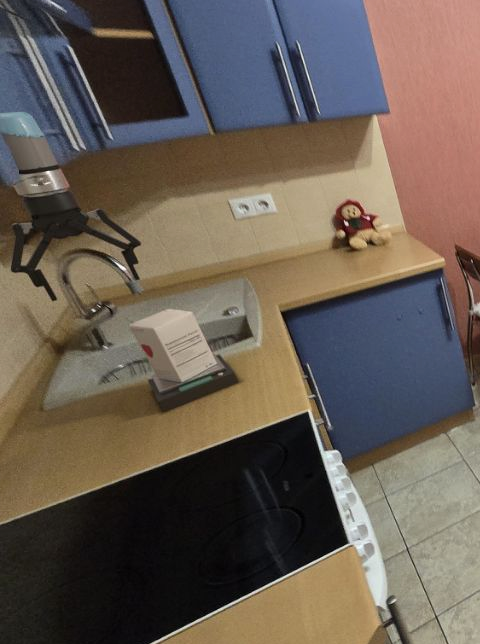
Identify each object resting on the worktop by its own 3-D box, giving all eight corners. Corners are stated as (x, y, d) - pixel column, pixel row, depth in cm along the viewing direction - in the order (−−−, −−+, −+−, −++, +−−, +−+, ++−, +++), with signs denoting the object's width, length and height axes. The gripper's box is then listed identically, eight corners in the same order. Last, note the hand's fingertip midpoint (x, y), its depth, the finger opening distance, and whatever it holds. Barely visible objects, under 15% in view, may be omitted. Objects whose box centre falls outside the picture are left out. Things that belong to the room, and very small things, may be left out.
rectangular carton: (156, 379, 129) (126, 324, 123) (194, 360, 137) (167, 307, 130) (181, 383, 126) (151, 328, 120) (218, 363, 134) (192, 310, 127)
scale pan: (152, 378, 131) (151, 375, 131) (215, 355, 140) (213, 353, 139) (160, 394, 124) (159, 391, 124) (226, 369, 132) (224, 367, 132)
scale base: (153, 390, 132) (146, 378, 131) (224, 363, 142) (218, 352, 141) (163, 412, 123) (157, 400, 121) (239, 382, 133) (233, 370, 131)
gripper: (-49, 209, 97) (16, 313, 106) (128, 182, 114) (171, 274, 123) (-46, 204, 102) (15, 304, 111) (123, 179, 119) (165, 267, 128)
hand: (97, 288), depth 117 cm, fingers open, 13 cm apart
